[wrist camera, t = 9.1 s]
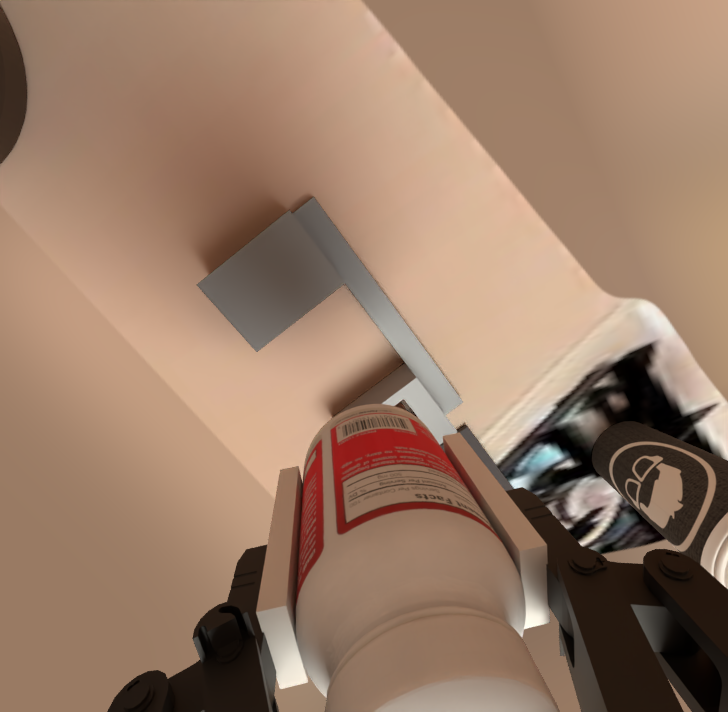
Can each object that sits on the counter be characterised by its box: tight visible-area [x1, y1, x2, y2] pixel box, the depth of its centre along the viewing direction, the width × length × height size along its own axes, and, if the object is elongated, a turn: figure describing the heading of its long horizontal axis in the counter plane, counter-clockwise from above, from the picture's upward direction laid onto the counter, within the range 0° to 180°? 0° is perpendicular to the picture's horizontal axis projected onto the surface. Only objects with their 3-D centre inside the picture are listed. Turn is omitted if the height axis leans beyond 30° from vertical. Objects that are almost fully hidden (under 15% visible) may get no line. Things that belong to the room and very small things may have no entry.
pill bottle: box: [296, 404, 560, 712], centre depth 12 cm, size 6×6×11 cm
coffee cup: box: [592, 421, 728, 589], centre depth 32 cm, size 10×10×15 cm
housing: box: [197, 197, 463, 445], centre depth 30 cm, size 21×10×4 cm, turn 37°
